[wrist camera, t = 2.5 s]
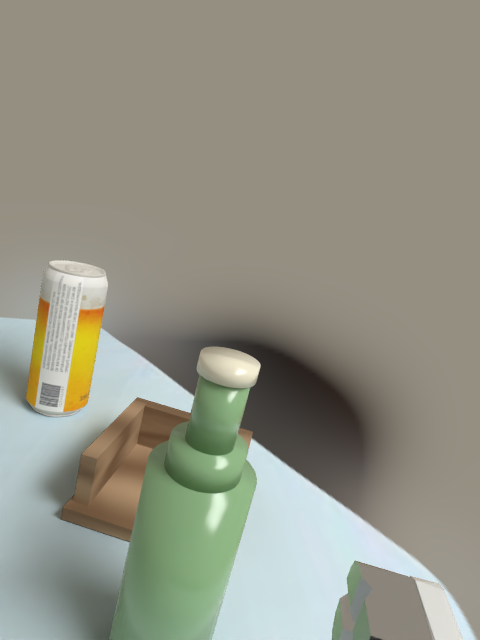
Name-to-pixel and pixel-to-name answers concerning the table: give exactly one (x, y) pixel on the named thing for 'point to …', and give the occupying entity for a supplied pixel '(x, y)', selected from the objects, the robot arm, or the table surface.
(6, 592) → the table surface
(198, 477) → the bottle
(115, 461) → the tray
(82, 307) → the beer can
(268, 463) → the table surface
